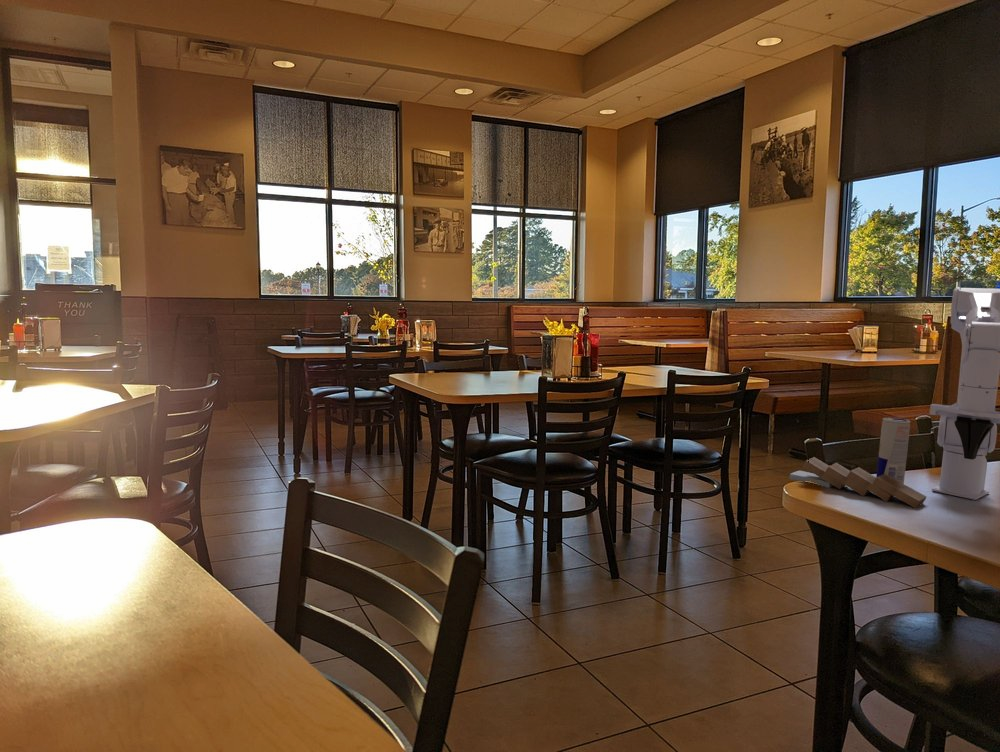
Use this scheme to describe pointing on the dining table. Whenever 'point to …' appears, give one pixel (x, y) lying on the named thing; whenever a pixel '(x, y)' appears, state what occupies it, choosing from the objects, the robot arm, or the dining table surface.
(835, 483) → the domino
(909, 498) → the domino
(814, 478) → the domino
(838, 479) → the domino
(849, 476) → the domino
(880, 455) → the white tall box
